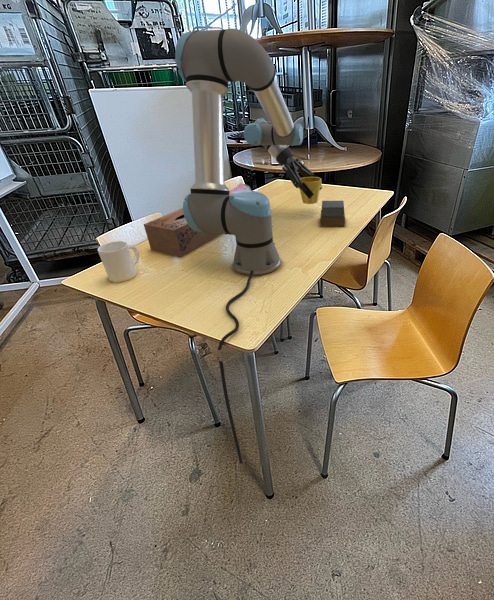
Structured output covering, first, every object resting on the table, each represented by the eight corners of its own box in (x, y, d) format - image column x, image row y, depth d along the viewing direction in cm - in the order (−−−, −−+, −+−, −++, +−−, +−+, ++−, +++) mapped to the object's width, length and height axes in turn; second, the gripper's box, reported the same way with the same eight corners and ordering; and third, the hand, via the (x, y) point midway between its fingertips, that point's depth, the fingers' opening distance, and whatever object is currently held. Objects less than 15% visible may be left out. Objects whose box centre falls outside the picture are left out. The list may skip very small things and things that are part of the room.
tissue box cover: (180, 257, 117) (174, 230, 112) (151, 250, 123) (143, 224, 117) (226, 231, 137) (222, 207, 131) (198, 226, 142) (193, 203, 137)
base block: (344, 226, 138) (345, 217, 136) (320, 226, 139) (320, 217, 137) (343, 218, 146) (344, 209, 144) (321, 218, 147) (321, 209, 145)
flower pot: (294, 200, 150) (293, 178, 145) (315, 197, 154) (315, 175, 149) (304, 206, 142) (303, 183, 137) (325, 203, 146) (325, 180, 141)
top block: (343, 216, 136) (344, 207, 134) (321, 217, 137) (321, 207, 135) (343, 209, 144) (343, 200, 142) (322, 209, 144) (322, 200, 142)
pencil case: (234, 214, 154) (231, 194, 150) (216, 212, 157) (213, 193, 152) (254, 200, 171) (252, 182, 166) (238, 199, 174) (235, 181, 169)
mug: (134, 263, 114) (124, 235, 108) (151, 268, 111) (143, 238, 105) (103, 279, 105) (91, 249, 99) (121, 284, 102) (110, 254, 96)
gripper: (286, 154, 153) (318, 192, 156) (263, 164, 135) (301, 206, 138) (296, 142, 148) (329, 181, 152) (274, 150, 130) (312, 194, 134)
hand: (316, 193), depth 145 cm, fingers closed on flower pot, 10 cm apart
